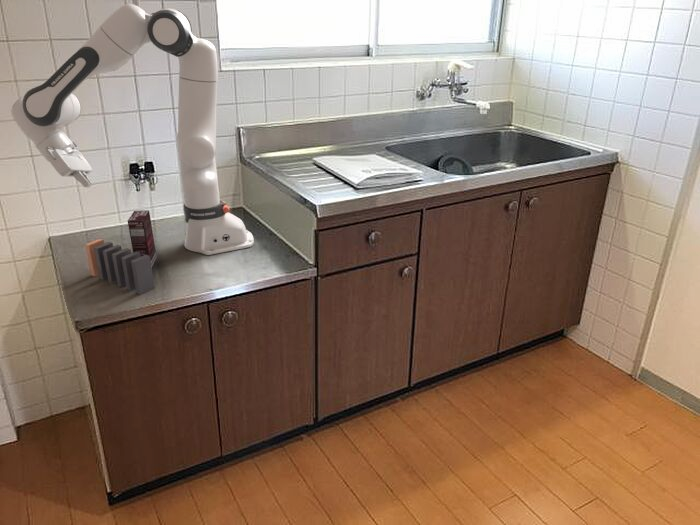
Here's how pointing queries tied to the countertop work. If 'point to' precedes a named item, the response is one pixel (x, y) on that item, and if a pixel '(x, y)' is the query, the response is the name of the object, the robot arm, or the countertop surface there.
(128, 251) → the domino
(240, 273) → the countertop surface
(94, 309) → the countertop surface
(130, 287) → the domino
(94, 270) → the domino
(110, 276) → the domino
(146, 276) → the domino
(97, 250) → the domino
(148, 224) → the supplement box
